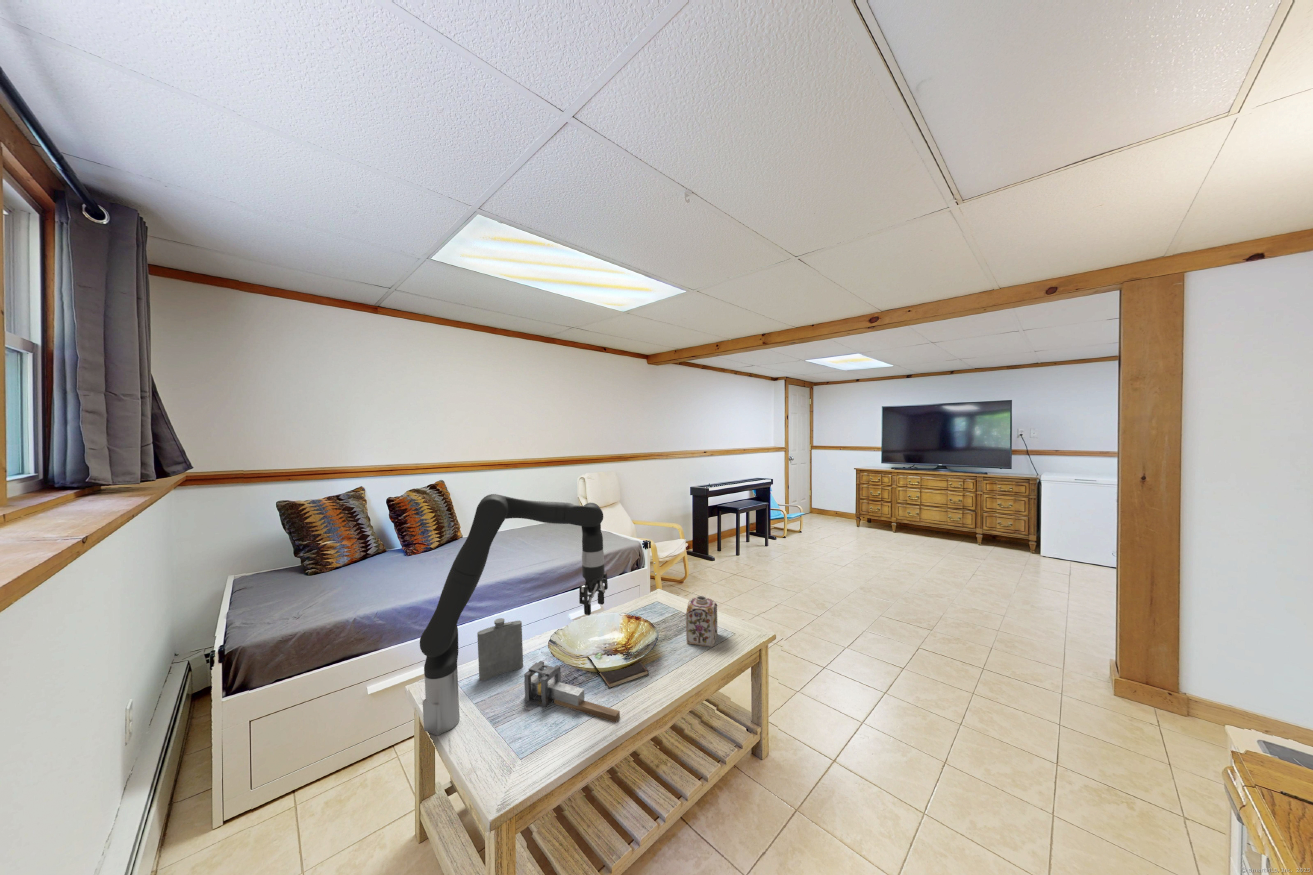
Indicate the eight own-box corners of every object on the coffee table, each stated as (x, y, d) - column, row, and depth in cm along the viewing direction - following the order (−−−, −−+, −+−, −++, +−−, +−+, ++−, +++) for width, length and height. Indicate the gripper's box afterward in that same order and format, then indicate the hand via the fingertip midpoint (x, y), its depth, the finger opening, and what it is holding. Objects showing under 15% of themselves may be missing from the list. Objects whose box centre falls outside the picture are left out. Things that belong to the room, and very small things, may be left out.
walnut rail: (615, 722, 131) (615, 716, 131) (554, 703, 141) (554, 697, 141) (619, 716, 134) (619, 710, 134) (559, 698, 143) (558, 692, 143)
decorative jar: (685, 643, 176) (685, 601, 175) (691, 630, 187) (690, 590, 186) (714, 647, 173) (713, 605, 172) (718, 633, 184) (717, 593, 183)
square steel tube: (584, 699, 139) (584, 688, 139) (578, 706, 136) (577, 695, 136) (531, 683, 148) (531, 673, 148) (524, 690, 145) (524, 679, 145)
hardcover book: (608, 689, 148) (608, 683, 148) (586, 657, 168) (586, 652, 168) (648, 675, 156) (648, 669, 156) (622, 646, 176) (622, 641, 176)
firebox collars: (545, 708, 138) (544, 678, 138) (525, 701, 142) (524, 672, 141) (561, 692, 146) (560, 664, 146) (541, 686, 150) (540, 658, 149)
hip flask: (480, 681, 153) (477, 628, 152) (478, 676, 157) (475, 623, 156) (524, 667, 162) (522, 616, 161) (521, 662, 165) (519, 612, 164)
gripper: (591, 570, 135) (592, 620, 135) (613, 557, 148) (614, 602, 148) (571, 568, 138) (573, 616, 138) (594, 554, 151) (596, 598, 151)
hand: (594, 608), depth 143 cm, fingers open, 8 cm apart
